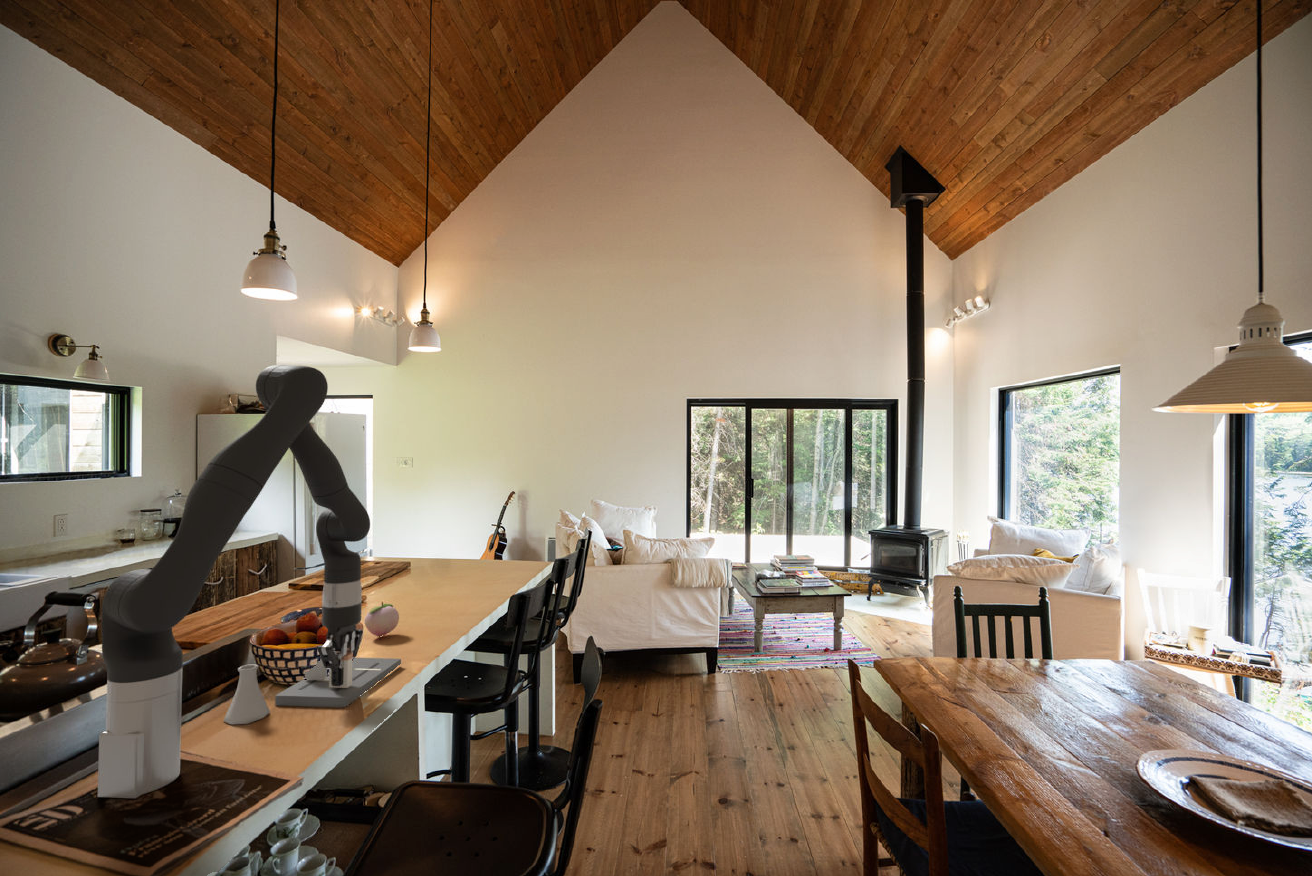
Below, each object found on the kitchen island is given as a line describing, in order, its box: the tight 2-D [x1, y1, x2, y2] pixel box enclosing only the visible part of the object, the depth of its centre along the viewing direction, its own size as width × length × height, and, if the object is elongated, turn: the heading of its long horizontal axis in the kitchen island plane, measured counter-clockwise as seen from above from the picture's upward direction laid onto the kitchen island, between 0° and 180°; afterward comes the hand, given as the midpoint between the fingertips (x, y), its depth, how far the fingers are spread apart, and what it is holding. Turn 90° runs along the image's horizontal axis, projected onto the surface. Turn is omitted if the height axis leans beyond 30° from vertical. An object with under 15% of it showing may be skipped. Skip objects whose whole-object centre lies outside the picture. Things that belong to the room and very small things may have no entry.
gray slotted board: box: [274, 657, 402, 708], centre depth 139 cm, size 24×15×2 cm, turn 176°
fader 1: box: [304, 659, 327, 680], centre depth 136 cm, size 2×4×7 cm, turn 87°
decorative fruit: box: [364, 601, 400, 637], centre depth 174 cm, size 9×8×10 cm
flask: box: [223, 663, 271, 725], centre depth 121 cm, size 7×7×10 cm
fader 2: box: [329, 653, 354, 688], centre depth 132 cm, size 2×4×7 cm, turn 86°
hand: (340, 683), depth 131 cm, fingers closed
